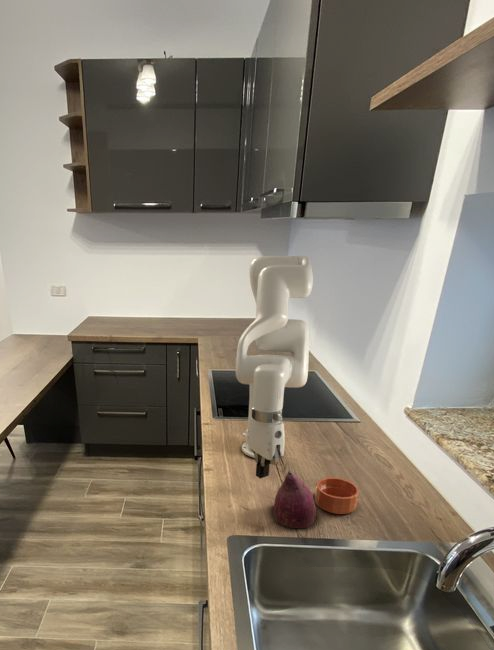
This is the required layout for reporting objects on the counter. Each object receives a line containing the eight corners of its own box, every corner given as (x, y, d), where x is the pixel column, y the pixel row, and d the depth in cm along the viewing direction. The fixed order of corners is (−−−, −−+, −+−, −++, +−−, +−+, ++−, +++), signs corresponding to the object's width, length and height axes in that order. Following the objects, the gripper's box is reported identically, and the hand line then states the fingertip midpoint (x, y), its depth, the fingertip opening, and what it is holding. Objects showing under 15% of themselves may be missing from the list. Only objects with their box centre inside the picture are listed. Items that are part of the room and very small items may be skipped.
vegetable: (284, 541, 106) (278, 496, 98) (267, 512, 115) (260, 469, 107) (324, 526, 107) (322, 481, 99) (304, 499, 116) (300, 455, 108)
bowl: (306, 500, 117) (308, 483, 115) (334, 489, 121) (336, 473, 119) (336, 520, 109) (338, 502, 107) (364, 508, 113) (367, 491, 111)
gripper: (298, 420, 107) (291, 485, 115) (259, 401, 119) (255, 460, 127) (274, 427, 104) (269, 493, 112) (237, 407, 116) (234, 467, 124)
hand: (262, 475), depth 120 cm, fingers closed
